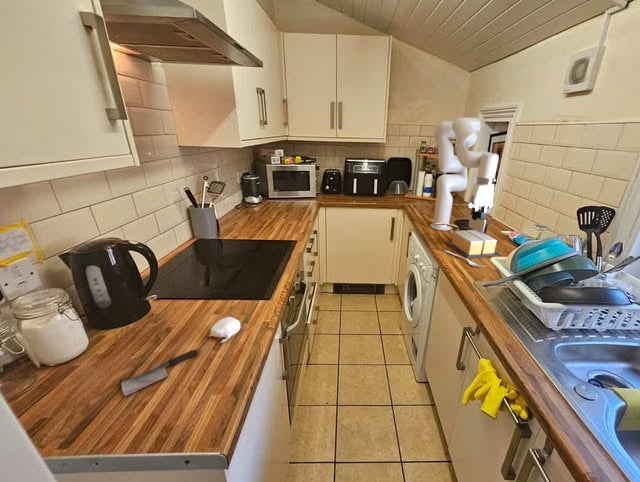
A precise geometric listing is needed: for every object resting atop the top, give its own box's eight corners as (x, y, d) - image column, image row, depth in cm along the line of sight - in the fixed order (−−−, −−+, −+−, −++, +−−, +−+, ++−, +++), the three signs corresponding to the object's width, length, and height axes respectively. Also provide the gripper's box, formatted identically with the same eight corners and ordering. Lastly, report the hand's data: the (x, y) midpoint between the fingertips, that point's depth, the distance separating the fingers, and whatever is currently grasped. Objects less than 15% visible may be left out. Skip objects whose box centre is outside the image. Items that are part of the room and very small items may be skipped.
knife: (466, 226, 153) (469, 207, 149) (471, 226, 154) (474, 207, 150) (480, 234, 142) (484, 214, 139) (485, 234, 143) (489, 213, 139)
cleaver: (122, 395, 65) (119, 381, 68) (124, 398, 65) (121, 385, 69) (201, 358, 75) (195, 348, 78) (202, 361, 75) (195, 351, 79)
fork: (446, 249, 150) (446, 246, 149) (486, 269, 131) (487, 265, 130) (441, 250, 149) (442, 247, 148) (481, 270, 129) (482, 266, 129)
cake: (446, 243, 159) (448, 229, 156) (475, 241, 163) (478, 228, 160) (467, 258, 141) (469, 243, 138) (500, 255, 145) (503, 241, 142)
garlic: (221, 344, 82) (219, 333, 80) (205, 336, 85) (203, 325, 83) (244, 329, 88) (243, 318, 87) (229, 321, 91) (227, 311, 90)
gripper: (495, 179, 144) (487, 216, 151) (464, 180, 140) (458, 217, 147) (505, 182, 137) (496, 221, 145) (474, 183, 133) (466, 222, 141)
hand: (477, 219), depth 146 cm, fingers closed on knife, 3 cm apart
